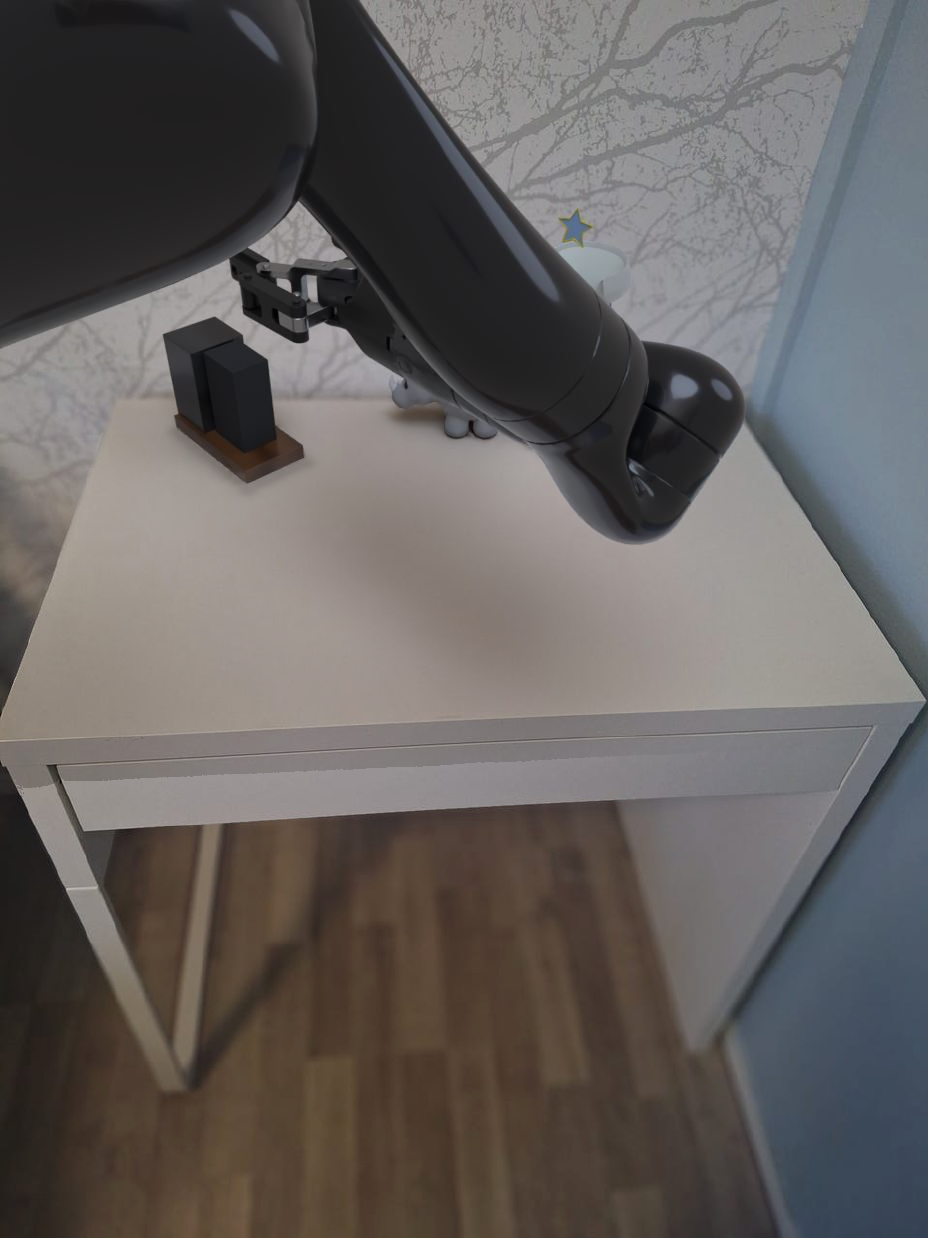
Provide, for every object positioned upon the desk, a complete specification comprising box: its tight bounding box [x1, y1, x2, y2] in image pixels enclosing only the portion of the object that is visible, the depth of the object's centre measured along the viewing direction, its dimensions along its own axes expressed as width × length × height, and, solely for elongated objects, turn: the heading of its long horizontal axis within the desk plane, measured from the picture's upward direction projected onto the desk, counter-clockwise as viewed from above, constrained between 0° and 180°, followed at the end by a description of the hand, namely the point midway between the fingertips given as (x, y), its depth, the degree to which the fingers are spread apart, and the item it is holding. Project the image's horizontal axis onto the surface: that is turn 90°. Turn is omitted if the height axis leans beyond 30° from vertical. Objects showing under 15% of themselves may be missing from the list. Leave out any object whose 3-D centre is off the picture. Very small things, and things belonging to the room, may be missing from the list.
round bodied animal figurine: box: [388, 375, 498, 439], centre depth 97 cm, size 7×12×8 cm, turn 89°
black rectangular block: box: [203, 340, 277, 453], centre depth 91 cm, size 4×5×9 cm
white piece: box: [553, 207, 633, 307], centre depth 91 cm, size 8×9×25 cm
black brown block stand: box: [162, 316, 305, 484], centre depth 92 cm, size 7×13×10 cm, turn 44°
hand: (286, 243), depth 65 cm, fingers open, 8 cm apart
